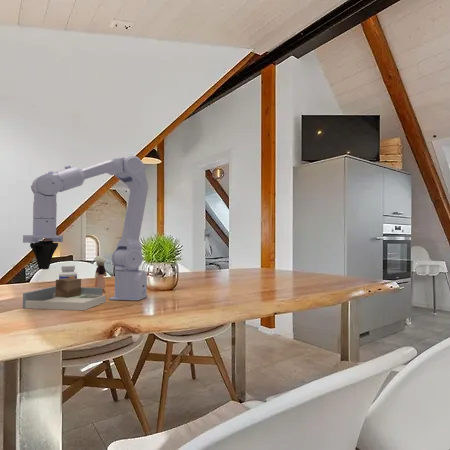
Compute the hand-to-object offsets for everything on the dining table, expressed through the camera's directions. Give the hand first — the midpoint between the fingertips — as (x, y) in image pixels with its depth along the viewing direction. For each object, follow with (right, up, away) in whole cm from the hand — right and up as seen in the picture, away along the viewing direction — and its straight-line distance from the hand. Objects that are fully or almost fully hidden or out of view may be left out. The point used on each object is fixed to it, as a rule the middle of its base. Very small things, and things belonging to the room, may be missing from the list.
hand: (43, 269), depth 100 cm
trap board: (+5, -11, +4) cm, 12 cm away
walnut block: (+4, -9, +7) cm, 12 cm away
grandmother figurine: (+6, -12, +27) cm, 30 cm away
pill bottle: (-2, -11, +20) cm, 23 cm away
